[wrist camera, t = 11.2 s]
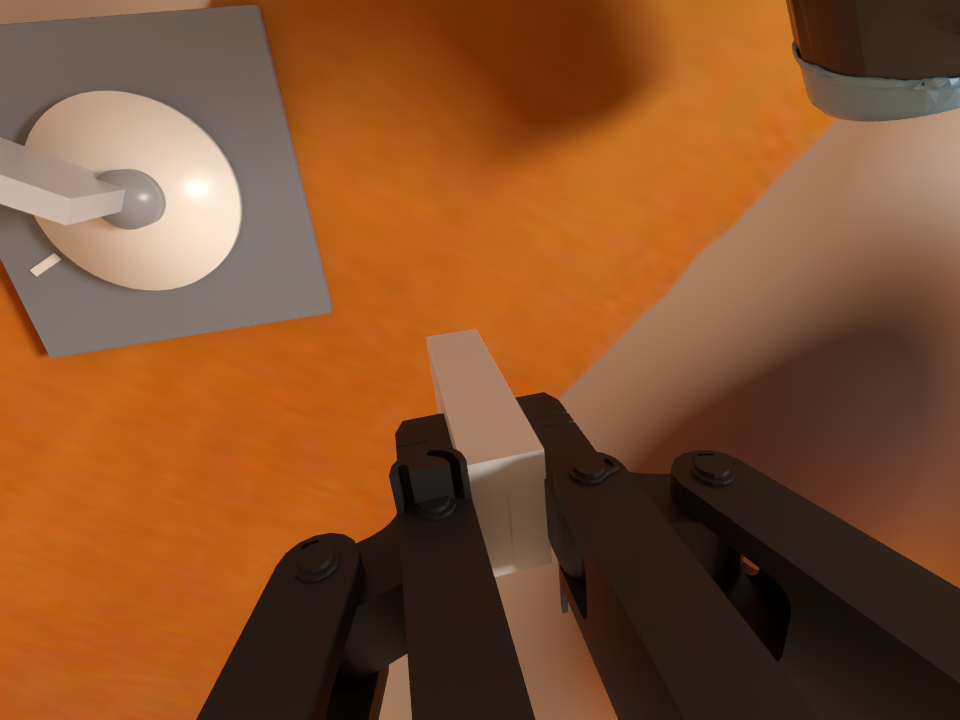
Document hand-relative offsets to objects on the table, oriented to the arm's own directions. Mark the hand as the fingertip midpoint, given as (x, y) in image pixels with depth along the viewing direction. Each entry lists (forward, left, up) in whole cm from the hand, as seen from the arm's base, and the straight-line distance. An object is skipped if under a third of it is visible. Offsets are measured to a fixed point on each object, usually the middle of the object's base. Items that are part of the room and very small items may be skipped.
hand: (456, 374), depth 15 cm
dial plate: (+19, -5, -32) cm, 38 cm away
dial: (+20, -6, -31) cm, 37 cm away
